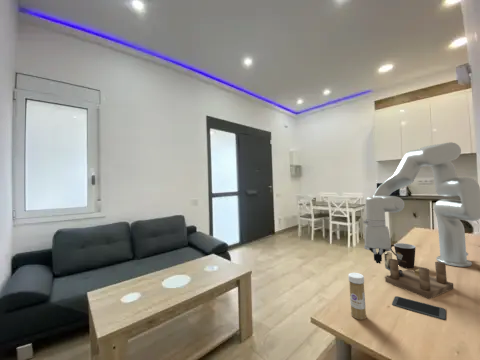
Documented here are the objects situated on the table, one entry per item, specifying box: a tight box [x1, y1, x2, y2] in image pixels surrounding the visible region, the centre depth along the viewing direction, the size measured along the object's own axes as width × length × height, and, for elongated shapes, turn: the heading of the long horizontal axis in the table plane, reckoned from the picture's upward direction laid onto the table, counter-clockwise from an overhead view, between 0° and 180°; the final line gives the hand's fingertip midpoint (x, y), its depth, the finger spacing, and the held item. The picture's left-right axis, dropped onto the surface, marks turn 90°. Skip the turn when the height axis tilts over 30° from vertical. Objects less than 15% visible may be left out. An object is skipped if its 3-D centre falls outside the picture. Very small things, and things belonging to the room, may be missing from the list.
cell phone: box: [391, 296, 447, 321], centre depth 74 cm, size 7×14×1 cm, turn 46°
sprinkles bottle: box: [347, 272, 367, 320], centre depth 72 cm, size 5×5×14 cm
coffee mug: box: [390, 242, 417, 269], centre depth 110 cm, size 12×9×10 cm
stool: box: [384, 258, 454, 300], centre depth 89 cm, size 16×16×10 cm
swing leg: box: [383, 251, 404, 276], centre depth 98 cm, size 10×3×7 cm, turn 177°
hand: (378, 262), depth 102 cm, fingers closed
